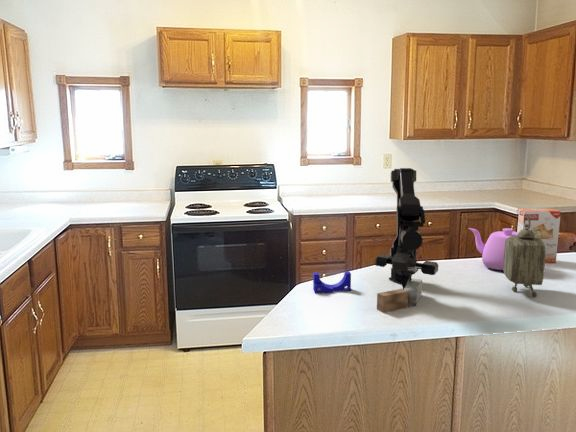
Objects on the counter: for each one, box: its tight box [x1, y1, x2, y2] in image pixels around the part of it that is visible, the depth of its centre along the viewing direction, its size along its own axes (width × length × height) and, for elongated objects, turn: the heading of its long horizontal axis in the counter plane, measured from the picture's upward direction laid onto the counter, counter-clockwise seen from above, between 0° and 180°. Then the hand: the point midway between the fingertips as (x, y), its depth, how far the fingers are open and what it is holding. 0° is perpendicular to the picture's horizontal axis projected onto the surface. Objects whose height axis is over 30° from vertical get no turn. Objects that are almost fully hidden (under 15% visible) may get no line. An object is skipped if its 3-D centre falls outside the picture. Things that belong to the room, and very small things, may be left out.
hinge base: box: [376, 288, 418, 313], centre depth 153 cm, size 13×4×5 cm, turn 117°
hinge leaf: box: [404, 278, 423, 302], centre depth 160 cm, size 13×4×5 cm, turn 156°
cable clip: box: [312, 270, 352, 294], centre depth 170 cm, size 12×4×6 cm, turn 94°
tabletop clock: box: [503, 215, 546, 298], centre depth 166 cm, size 14×9×25 cm, turn 168°
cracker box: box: [516, 208, 562, 264], centre depth 203 cm, size 14×6×21 cm, turn 87°
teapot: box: [468, 227, 518, 271], centre depth 198 cm, size 23×21×15 cm
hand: (404, 290), depth 163 cm, fingers closed
